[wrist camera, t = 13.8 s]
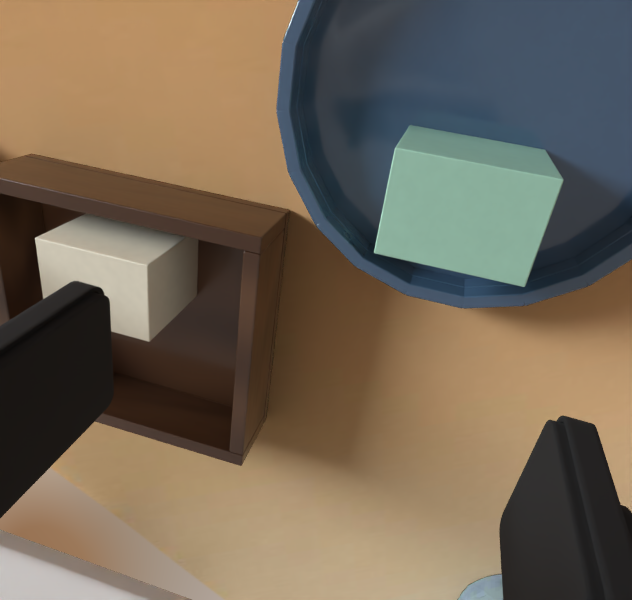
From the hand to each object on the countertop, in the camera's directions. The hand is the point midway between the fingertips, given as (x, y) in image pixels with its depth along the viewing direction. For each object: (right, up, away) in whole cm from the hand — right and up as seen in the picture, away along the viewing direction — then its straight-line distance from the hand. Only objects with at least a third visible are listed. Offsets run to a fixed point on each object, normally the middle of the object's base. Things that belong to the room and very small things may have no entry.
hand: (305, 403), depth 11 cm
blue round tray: (+7, +10, +11) cm, 16 cm away
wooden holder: (-9, +2, +19) cm, 22 cm away
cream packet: (-9, +5, +17) cm, 20 cm away
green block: (+7, +7, +12) cm, 15 cm away
